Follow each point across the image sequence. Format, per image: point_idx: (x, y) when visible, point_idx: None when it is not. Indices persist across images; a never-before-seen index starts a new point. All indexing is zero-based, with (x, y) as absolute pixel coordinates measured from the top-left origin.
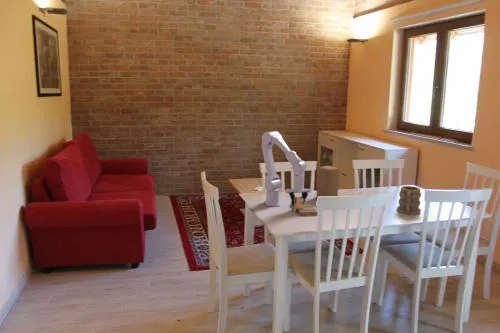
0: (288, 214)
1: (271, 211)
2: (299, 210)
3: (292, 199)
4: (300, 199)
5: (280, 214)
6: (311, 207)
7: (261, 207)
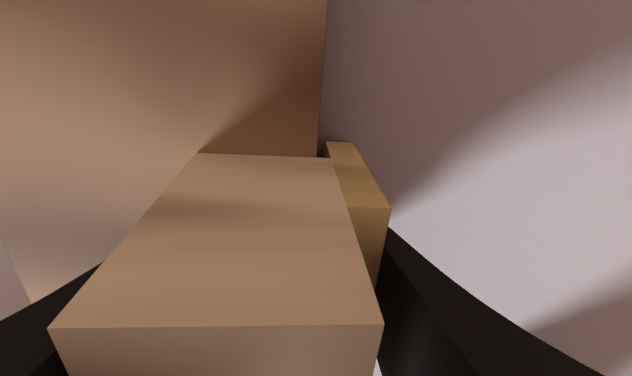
0: (496, 31)
1: (627, 206)
2: (304, 26)
3: (497, 315)
4: (213, 289)
5: (615, 53)
6: (15, 195)
7: (621, 331)
